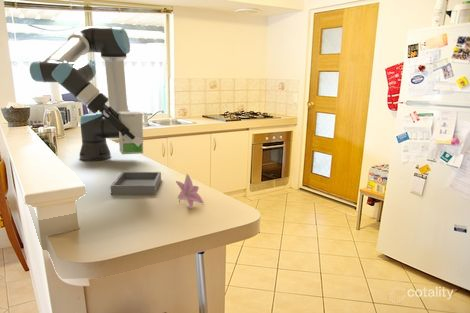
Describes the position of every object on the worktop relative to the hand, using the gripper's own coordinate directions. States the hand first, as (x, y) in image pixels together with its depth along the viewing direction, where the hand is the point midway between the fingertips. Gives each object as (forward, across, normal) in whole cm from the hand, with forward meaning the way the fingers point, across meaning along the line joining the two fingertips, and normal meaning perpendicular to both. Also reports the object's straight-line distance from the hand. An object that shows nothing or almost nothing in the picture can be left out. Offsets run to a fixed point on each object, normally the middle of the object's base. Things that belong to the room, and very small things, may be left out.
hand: (140, 141), depth 132 cm
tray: (+12, 0, -14) cm, 18 cm away
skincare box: (+1, 0, -6) cm, 6 cm away
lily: (+24, +22, -2) cm, 33 cm away
